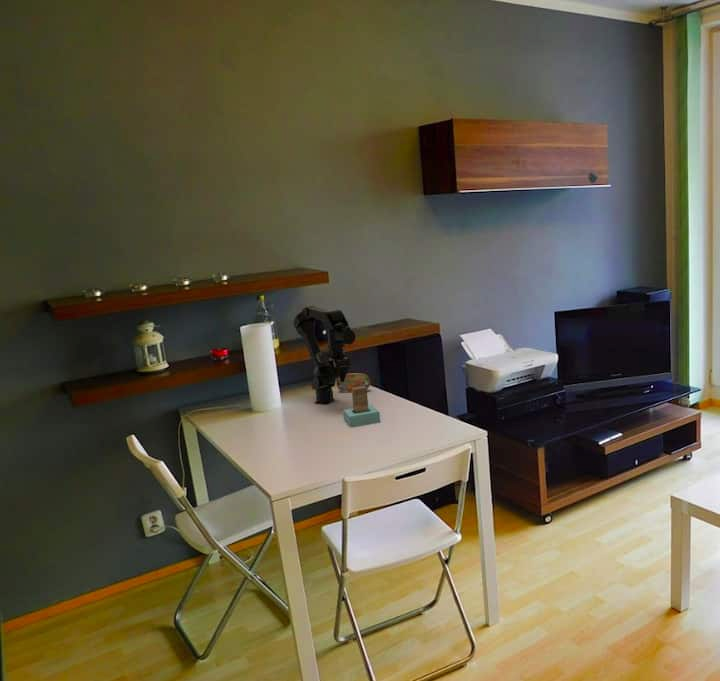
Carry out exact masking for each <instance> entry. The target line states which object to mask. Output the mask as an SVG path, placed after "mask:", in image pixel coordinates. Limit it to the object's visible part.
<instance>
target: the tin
mask: <svg viewBox="0 0 720 681" xmlns="http://www.w3.org/2000/svg"><path fill="white" fill-rule="evenodd" d="M360 386H365V387H366V388H367V390H368V389H369V388H370V386H371V379H370V378H369V376H368V375H367V374H365V373H364V372H363V373H362V372H360V373H357V372H356V373H347V374H346V377H345V380H344V382H341V381H340V377H339V376H338V377H337V380H336V387H337V389H338V390H339V391H340V392H342V393H345V394H346V393H347V394H349V393H350V394H352V388H354V387H360Z"/></svg>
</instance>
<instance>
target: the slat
mask: <svg viewBox="0 0 720 681" xmlns="http://www.w3.org/2000/svg"><path fill="white" fill-rule="evenodd" d="M351 395H352V396H351V397H352V408H353V410H354V414H356V413H362V412H368V411H369V410H368V406H369V400H368V389H367V388H366V387H365V386H360V387H354V388H352V393H351Z"/></svg>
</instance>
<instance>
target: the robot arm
mask: <svg viewBox="0 0 720 681" xmlns="http://www.w3.org/2000/svg"><path fill="white" fill-rule="evenodd" d="M317 320H320V321H322V323H323V324H324V325H326V327H325V328H324V330H325V331H327V337H328V338H327V339H328V343H327V348H325V349H323V350H321V349H320V346H319V343H318V341H317V338H316V335H315V328H316V324H315V323H316V321H317ZM292 323H293V328H295V331H296V332H297V334H298V335H299V336H300V337H302V338H303V341H304V343H305V346H306V348H307V351H308V354H309V356H310V359H311V362H312V365H313V368H314V370H313V374H312V375H313V380H312V381H311V384H310V385H311V389H312V390H314V391H315V398H316V401H314V404H322V405H327V404H330V403H332V402H334V401H335V400H336V399H335V398H334V391H333V389H332V388H333V387H335V385H336V378H339V377H340V381H341V382H344V380H345V377H346V374H348V371H349V368H350V367H351V365H352V361H351V359H349V358H348V357H347V355H346V354H345V347H346V345H347V346H348V345H352V344H354V343H355V340H356V337H357V336H356V334H355V331H353V330H352V329H351V326H350V325H349V322H348V320H347V319H346V316H345V314H344V313H343V311H342V309H341V310H340V309H332V310H331V309H330V310H328V309H325V308H321V307H318V306H317V307H316V306H314V305H309V306H305V307H303V309H302V310H301V311H300V312H299V313H298V314H297V315H296V316H295V318H294V319H293V322H292ZM326 362H327V363H329V365H328V364H327V363H326Z"/></svg>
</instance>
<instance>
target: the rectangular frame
mask: <svg viewBox="0 0 720 681" xmlns="http://www.w3.org/2000/svg"><path fill="white" fill-rule="evenodd" d="M368 410H369V411H368V412H362V413H356V414H354V410H353V407H352V408H347V409H343V410H342V412H343V414H342V415H343V420H344V422H346V424H347V425H348V426H349V427H350V428H353V427H359V426H364V425H365V426H366V425H369V424H370V425H371V423H372V424H377V423H380V422H381V414H380V411H379V410H378V409H377V407H375V406H374V405H372V404H371V405H368Z"/></svg>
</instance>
